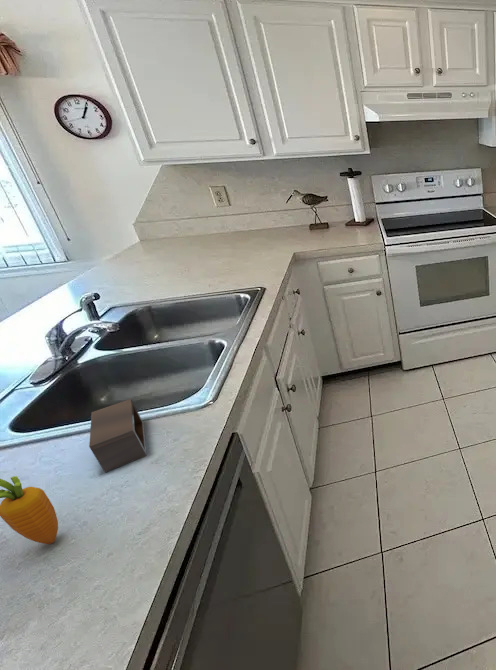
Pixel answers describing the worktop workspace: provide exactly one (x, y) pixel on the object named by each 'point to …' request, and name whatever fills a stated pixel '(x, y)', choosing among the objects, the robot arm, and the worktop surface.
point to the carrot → (28, 511)
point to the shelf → (117, 435)
